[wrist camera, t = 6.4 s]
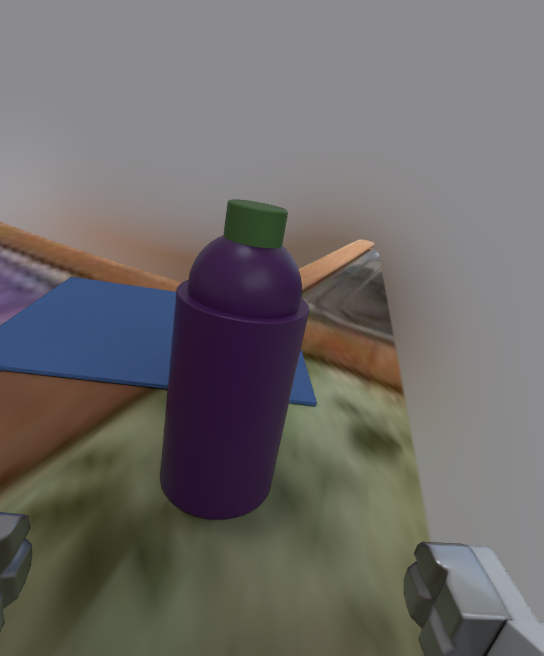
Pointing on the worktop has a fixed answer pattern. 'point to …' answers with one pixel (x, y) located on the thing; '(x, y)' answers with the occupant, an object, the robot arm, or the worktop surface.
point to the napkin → (104, 336)
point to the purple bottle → (232, 366)
